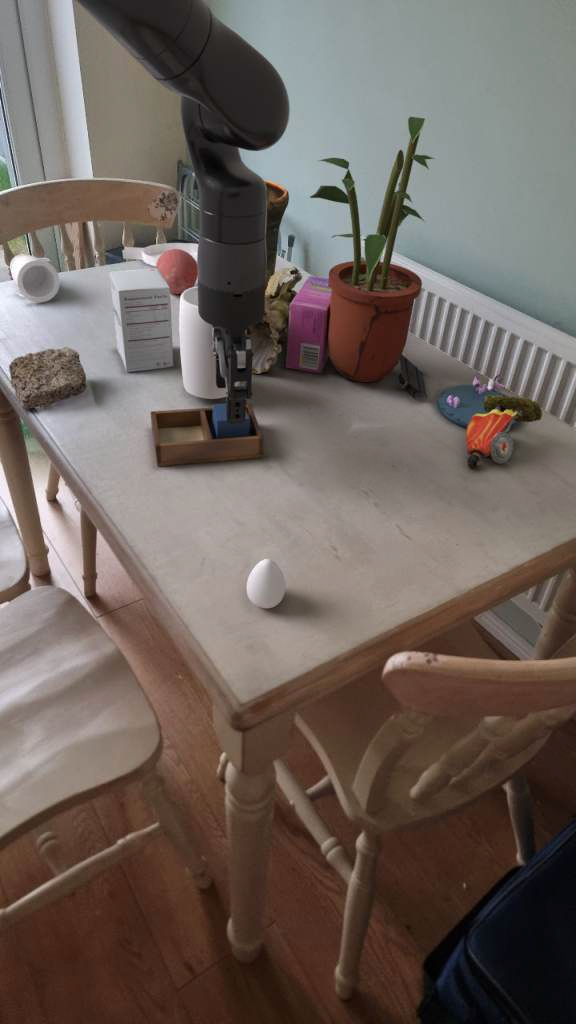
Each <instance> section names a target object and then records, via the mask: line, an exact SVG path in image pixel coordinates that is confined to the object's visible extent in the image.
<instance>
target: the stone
mask: <svg viewBox="0 0 576 1024" xmlns="http://www.w3.org/2000/svg"><path fill="white" fill-rule="evenodd" d="M8 367H9V368H8V370H9V371H8V372H9V374H10V384H11V387H12V388H13V389H14V390H15V393H14V394H15V397H16V398H17V399H18V401H19V402H20V404H21V405H20V406H21V408H22V409H24V410H29V409H36V408H42V407H43V406H44V407H47V408H48V407H49V406H52V405H53V404H56V403H58V402H61V401H63V400H64V401H65V400H68V399H71V397H73V396H79V395H80V394H82V393H84V392H85V390H86V388H87V383H86V382H87V374H86V372H85V369H84V367H83V365H82V363H81V359H80V354H79V352H78V351H77V350H75V349H72V348H71V347H67V346H66V347H63V348H61V349H60V348H57V349H55V348H47V349H45V350H40V351H36V352H34V353H32V352H29V353H26V354H25V356H24V355H20V356H17V357H16V358H15V359H13V360H12V361H11V362H10V364H9V365H8Z"/></svg>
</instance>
